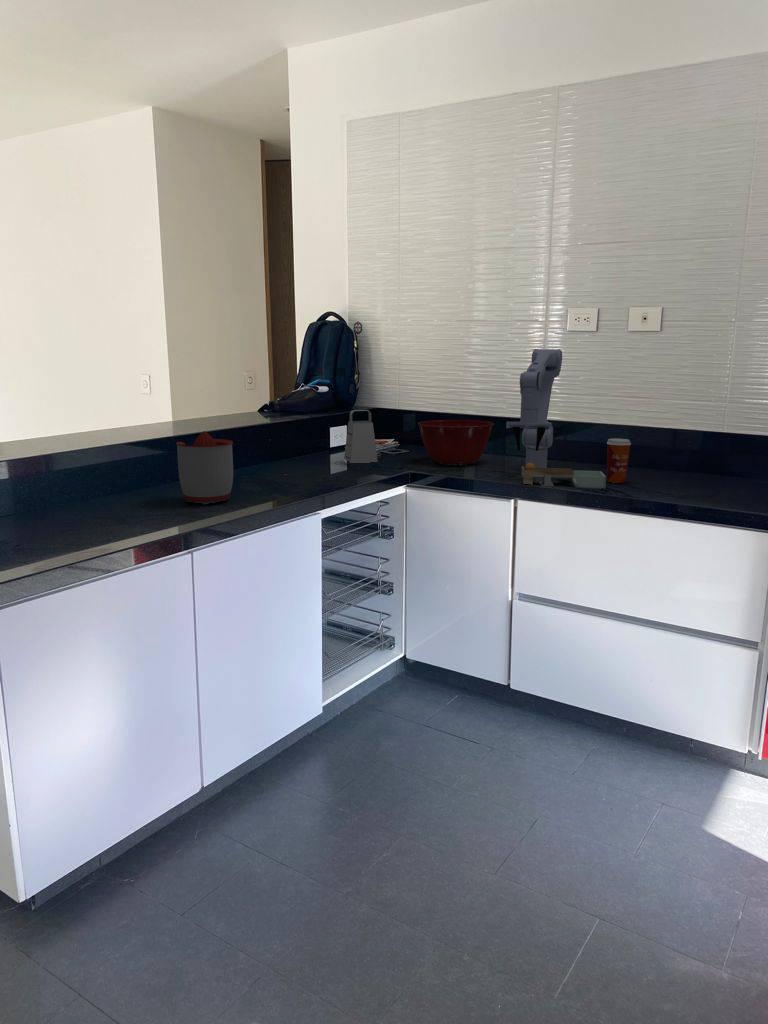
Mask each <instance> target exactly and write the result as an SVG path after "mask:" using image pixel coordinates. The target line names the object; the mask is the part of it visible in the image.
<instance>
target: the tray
mask: <svg viewBox="0 0 768 1024" xmlns="http://www.w3.org/2000/svg"><path fill="white" fill-rule="evenodd" d="M572 471H574V476H573V478H572V479H571V481H572V482H571V483H572V484H573V485H574V487H575V488H576V489H593V490H595V489H597V490H598V489H602V488H603V489H602V490H606V488H607V475H605V474H604V472H603V471H602V470H573V469H572Z"/></svg>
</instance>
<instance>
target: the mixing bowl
mask: <svg viewBox="0 0 768 1024" xmlns="http://www.w3.org/2000/svg"><path fill="white" fill-rule="evenodd" d="M417 425H418V428H419V432H420V436H421V439H422V442H423V445H424V447H425V449H426V451H427V453H428V456H429V457H430V458H431V459H432V460H433V461H434V462H436V463H437V462H438V463H442V464H457V465H459V464H470V465H473V464H474V463H476V461H478V460H480V458H481V456H482V454H483V453H484V451H485V449H486V447H487V445H488V443H489V440H490V436H491V434H492V430H493V426H494V425H495V424H494V422H491V421H484V420H472V419H470V420H469V419H467V420H466V419H440V420H439V419H437V420H436V419H435V420H425V421H419V422H417ZM438 463H437V464H438ZM472 463H473V464H472ZM459 466H460V465H459Z"/></svg>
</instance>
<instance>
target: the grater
mask: <svg viewBox="0 0 768 1024" xmlns="http://www.w3.org/2000/svg"><path fill="white" fill-rule="evenodd" d="M365 411H367V412H368V420H353V414H354V413H355V412H365ZM375 436H376V435H375V430H374V422H372V412H371V411H370V410H368V409H355V410H354V409H353V410H351V411H350V412H349V421H348V422H347V431H346V440H345V448H344V455H343V456H344V457H343V460H344V459H346V460H347V461H349V462H350V463H370V462H378V463H379V461H378V453H377V446H376V438H375Z"/></svg>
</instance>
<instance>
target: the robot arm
mask: <svg viewBox="0 0 768 1024" xmlns="http://www.w3.org/2000/svg"><path fill="white" fill-rule="evenodd" d="M562 364H563V351H562V350H561V349H560V348H558V349H539V348H538V349H537V348H535V349H533V350H532V353H531V363H530V364H529V366H528V367H527V369H526V370H525V371H523V372H522V373H520V375H519V388H520V389H519V391H520V393H519V394H520V395H521V396H520V397H521V398H520V399H521V400H520V420H519V421H506V424H505V425H506V426H505V428H506V429H512V432H513V435H514V437H515V441H516V447H517V448H516V449H517V451H521V443H522V445H523V447H524V448H525V449H526V451H525V452H526V453H525V465H526V464H528V463H532V464H534V466H535V468H548V467H547V466H548V449H549V448H550V447H552V445H553V441H554V428H553V422H549V421H548V413H549V408H550V404H551V403H550V402H551V397H552V388H553V384H554V380H555V378H557V377H558V376H560V375H561V374H560V373H561V370H562ZM521 429H523V430H522V435H521Z"/></svg>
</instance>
